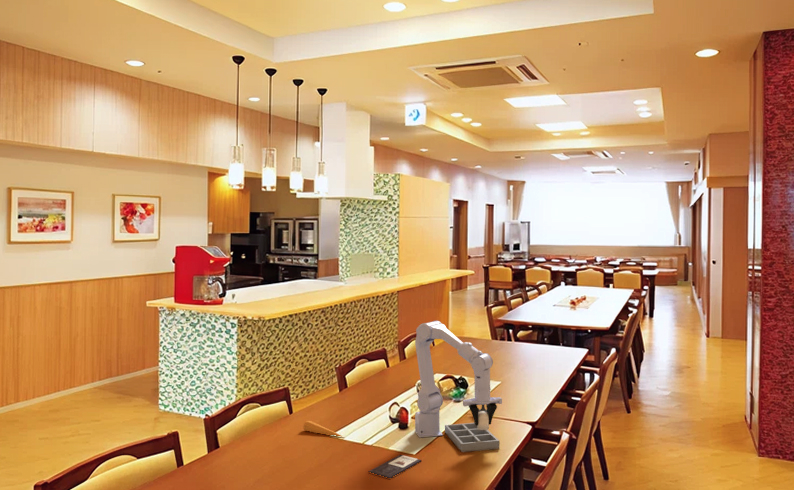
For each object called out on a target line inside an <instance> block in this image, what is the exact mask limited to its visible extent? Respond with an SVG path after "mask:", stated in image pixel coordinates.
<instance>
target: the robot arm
mask: <svg viewBox="0 0 794 490" xmlns="http://www.w3.org/2000/svg"><path fill="white" fill-rule="evenodd" d="M415 333H416V337H415V342H414V344H415V353H416V358H417V365H418V366H417V367H418V372H419V379H420V385H421V388H420V389H419V391H418V392H417V402H416V403H417V408H418V409H419V411H416V412H415V415H414V432H415V434H416V435H417V437H418V438H430V437H442V436H444V434H443V433H442V431H441V430H440V429H441V427H440V425H441V423H440V420H441V419H440V410H441V407H442V406H443V404H444V399H443V396H442V394H441V390H440V388H439V386H437V385H436V382H435V375H434V374H435V373H434V368H433V361H432V355H431V354H432V353H431V347H430V346H431V344H432V343H433V342H434V341H435V340H442V341H444V342H446V343H447V344H448V345H449V346H451V347H452V348H454V349H456V350H457V354H458V355H459V357H461V358H462V359H464V360H465V361H466V362H468V363H469V364H470V366H471V369H472V370H473V374H474V397H472V398H468V399H463V400H462V405H463V407H468V408H469V410H470V412H471V414H472V418H473V423H474V424H475V425H476V426H477V425H478V413H479V412H478V411H479V410H480V409H479V407H478V406H482V405H484V406H486V410H487V414H488V416H489V425H491V424H492V422H493V421H492V420H493V417H494V415H495V412H496V410H497V409H498V405H503V398H501V397H500V396H499V397H498V396H497V397H496V396H493V397H491V390H490V389H491V368H492V366H493V364H494V360H493V357H492V356H491V355H490V354H489V353H487V352H486V353H485V352H484V353H483V352H482V351H481V350H479V349H478V348H476V347H475V346H473V343H472V342H468V341H465V342H463V341H462V340H460V338H458V337H457V336H456V335H455V334H454V333H453V332H452V331H450V330H449V329H448V328H447V327H446V325H445V323H442V322H441V321H439V320H433V321H429V322H423V323H421V324H419V325H418V326H417V327H416V329H415ZM497 404H498V405H497Z"/></svg>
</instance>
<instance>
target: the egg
mask: <svg viewBox="0 0 794 490" xmlns="http://www.w3.org/2000/svg"><path fill="white" fill-rule="evenodd" d="M489 428H490V426H489V416H488V414H487V413H486V412H485V411H480V412H478V425H477V429H479V430H488V431H489V430H490V429H489Z"/></svg>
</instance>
